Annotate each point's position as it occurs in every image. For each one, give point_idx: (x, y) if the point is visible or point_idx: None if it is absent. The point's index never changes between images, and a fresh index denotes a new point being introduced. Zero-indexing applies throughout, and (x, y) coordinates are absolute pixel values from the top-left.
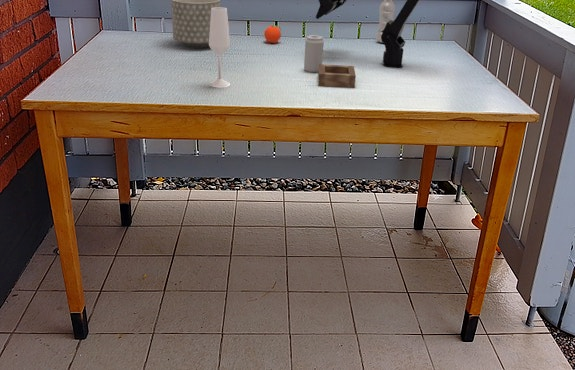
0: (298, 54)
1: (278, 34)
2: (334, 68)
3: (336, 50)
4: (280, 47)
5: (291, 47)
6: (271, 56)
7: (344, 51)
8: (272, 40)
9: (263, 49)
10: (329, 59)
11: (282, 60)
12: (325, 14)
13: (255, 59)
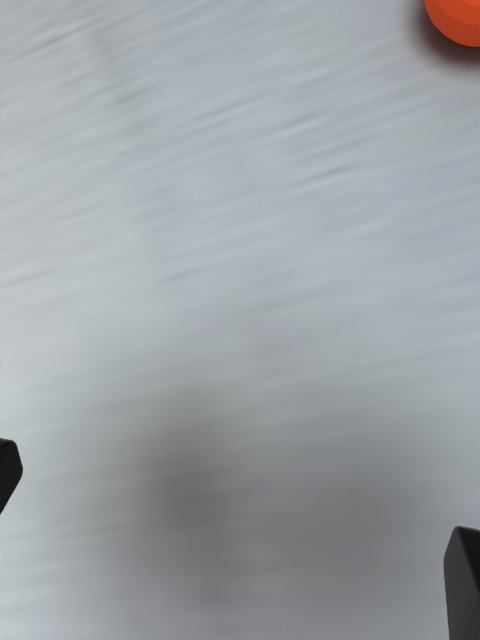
0: (219, 292)
1: (472, 12)
2: None
3: None
4: (359, 120)
5: (397, 188)
6: (106, 153)
7: None
8: (429, 16)
9: (253, 46)
10: (171, 534)
11: (43, 242)
12: (448, 559)
13: (15, 100)
